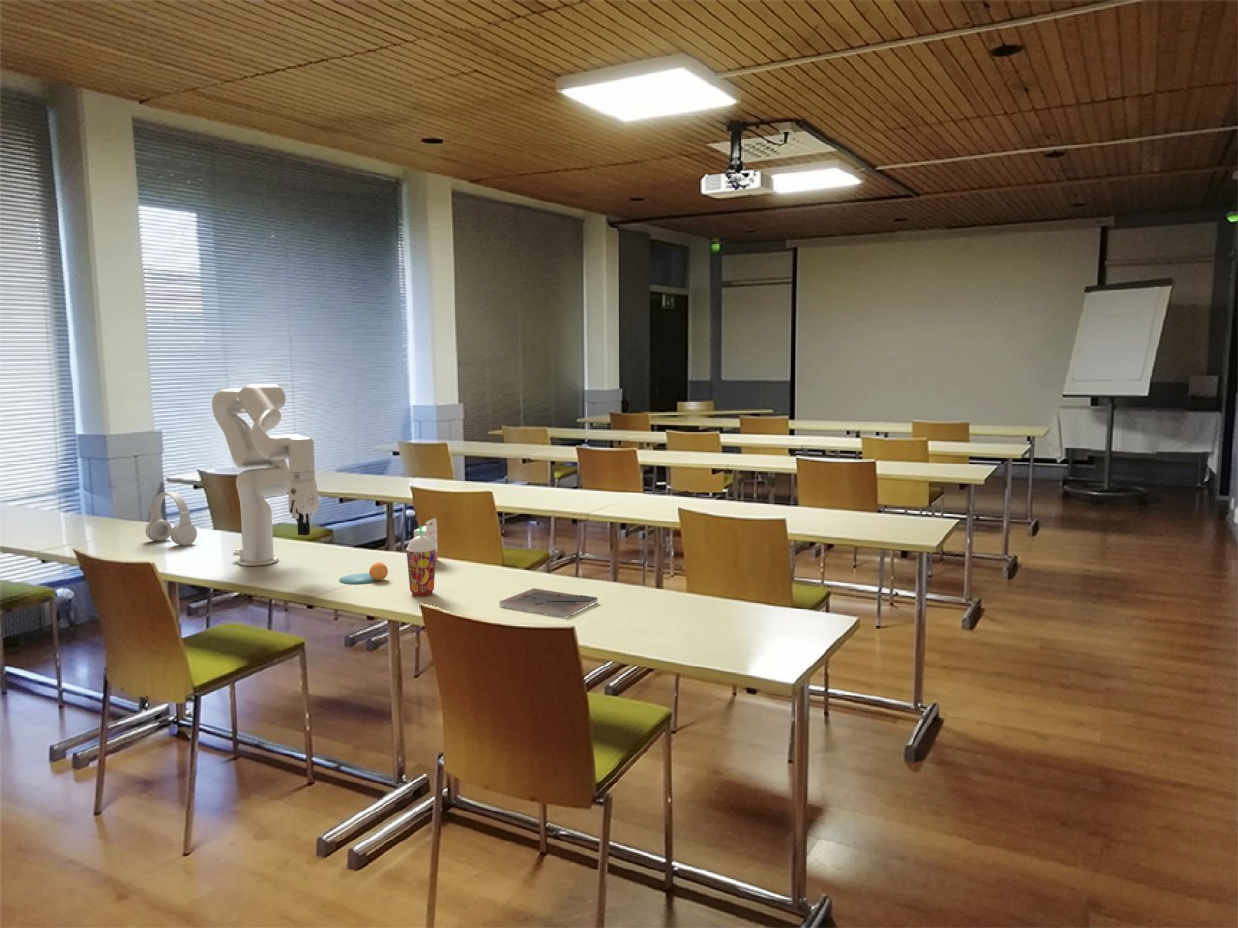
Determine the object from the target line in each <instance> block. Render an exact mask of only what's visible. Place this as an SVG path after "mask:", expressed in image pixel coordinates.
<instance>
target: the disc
mask: <svg viewBox="0 0 1238 928" xmlns="http://www.w3.org/2000/svg"><path fill="white" fill-rule="evenodd" d="M338 581H339V582H340V583H342V584H345V585H366V584H367V585H368V584H372V583H376V582H378V581H377V580H374V579H372V578H371V576H370V574H369V572H368V573H367V572H366V573H355V574H354V573H353V574H348V575H345V576H342V577H341V578H339V580H338Z"/></svg>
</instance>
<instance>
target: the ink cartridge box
mask: <svg viewBox="0 0 1238 928" xmlns="http://www.w3.org/2000/svg"><path fill="white" fill-rule="evenodd" d="M431 523H432V524H431ZM430 524H431V525H430ZM422 535H423V536H426V537H428V538H430V539H431V540H432V542H433V543H434V546H435V547H436V555H435V562H436V561H438V559H439V558H438V557H439V555H438V554H439V553H438V551H439V549H438V547H439V546H438V526H437V518H436V517H434V518H432V519H430V520H429V519H428V520H427V521H426V522H425V525H423V526H422ZM417 536H420V527H419V528H416V529H414V530H413V538H414V537H417Z"/></svg>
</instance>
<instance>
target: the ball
mask: <svg viewBox="0 0 1238 928" xmlns="http://www.w3.org/2000/svg"><path fill="white" fill-rule="evenodd" d="M368 573H369V574H370V576H371V578H372V579H374V580H377V582H380V581H382V580H385V578H386V577H387V576H388V573H389V570H388V567H387V566H386V564H384V563H382V562H376V563H375V562H374V563H373V564H372V565H371V566H370V568H369V571H368Z"/></svg>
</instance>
